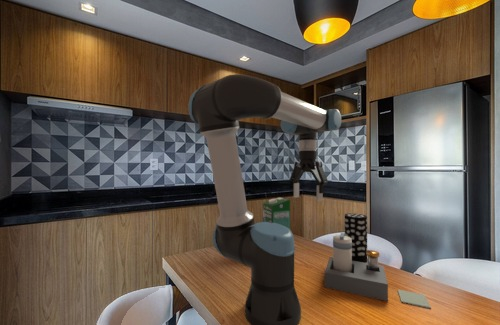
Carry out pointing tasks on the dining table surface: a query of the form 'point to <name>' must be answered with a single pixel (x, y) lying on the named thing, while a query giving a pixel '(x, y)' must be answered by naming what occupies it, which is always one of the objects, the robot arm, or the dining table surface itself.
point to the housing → (358, 280)
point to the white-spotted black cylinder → (357, 235)
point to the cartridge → (342, 253)
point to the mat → (413, 298)
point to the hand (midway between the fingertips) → (307, 199)
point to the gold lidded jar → (372, 260)
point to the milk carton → (277, 211)
